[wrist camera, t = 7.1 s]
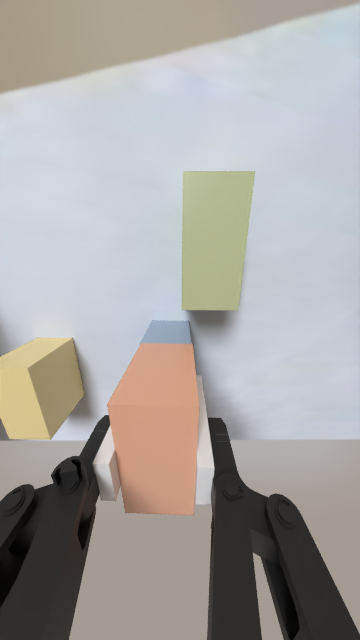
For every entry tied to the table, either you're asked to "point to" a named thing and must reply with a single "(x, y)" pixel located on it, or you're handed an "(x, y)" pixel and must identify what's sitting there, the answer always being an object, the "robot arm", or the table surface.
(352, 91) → the table surface
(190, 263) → the olive brick
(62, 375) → the ochre brick
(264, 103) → the table surface
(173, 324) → the slate-blue brick
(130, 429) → the terracotta brick
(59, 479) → the robot arm
